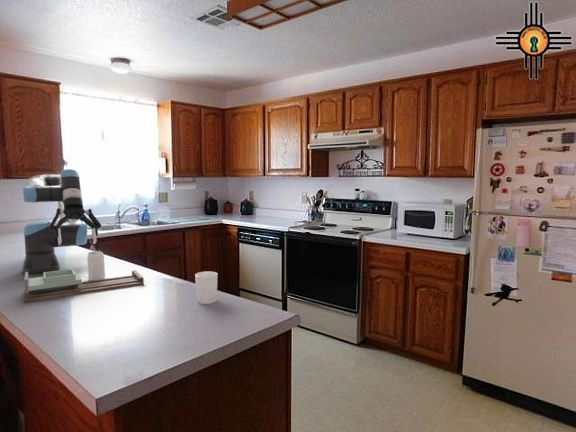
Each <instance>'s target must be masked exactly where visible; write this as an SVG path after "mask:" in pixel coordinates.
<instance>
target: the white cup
mask: <svg viewBox="0 0 576 432" xmlns="http://www.w3.org/2000/svg"><path fill="white" fill-rule="evenodd" d="M194 277H195V278H194V280H195V292H196V301H197V303H198V304H199V305H200V304H201V305H210V304H214V303H216V302H217V294H218V272H216V271H210V270H209V271H208V270H207V271H199V272H196V273H195V274H194Z"/></svg>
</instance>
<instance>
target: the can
mask: <svg viewBox="0 0 576 432" xmlns="http://www.w3.org/2000/svg"><path fill="white" fill-rule="evenodd" d="M86 259H87V271H88V272H87V274H88V275H87V276H88V281H92V280H100V279H106V272H105V271H106V270H105V255H104V253H103V251H102V250H93V251H88V254H87V258H86Z"/></svg>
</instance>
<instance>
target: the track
mask: <svg viewBox="0 0 576 432" xmlns="http://www.w3.org/2000/svg"><path fill="white" fill-rule="evenodd" d="M144 284H145V280H144V277H143V276H142V275H141V274H140V273H139V272H138V271H137V270H135V269H134V270H131V274H130V275H125V276H117V277H116V276H115V277H107V278H104V279H100V280H92V281H90V280H88V281H87V280H86V281H82V284H78V287H77V288H75V289H72V288H71V286H70V285H67V286H60V287H53V288H45V289H41V292H40V293H39V294H34V293H33V290H31V291H29V293H25V292H24V295H23V303H30V302H36V301H37V302H38V301H43V300H44V301H45V300H50V299H56V298H63V297H69V296H76V295H77V296H78V295H85V294H91V293H97V292H104V291H111V290H117V289H125V288H131V287H137V286H138V287H139V286H143V285H144Z"/></svg>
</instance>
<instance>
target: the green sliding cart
mask: <svg viewBox="0 0 576 432" xmlns="http://www.w3.org/2000/svg"><path fill="white" fill-rule="evenodd" d="M42 274H43V275H42V276H38V277H29V274H28V272H25V273H24V294H25V293H29V291H31V290H33V293H34V294H39V293H40V292H41V289H45V288H53V287H60V286H67V285H70V286H71V288H72V289H75V288H77V287H78V284H82V282H83V280H82V278H81V275H80V273H79V272H75V271H74V268H72V269H71V268H69V269H59V270H56V271H51V272H43V273H42Z"/></svg>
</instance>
